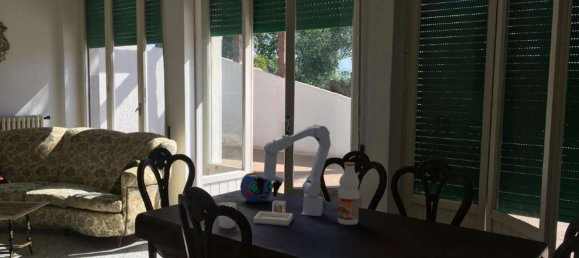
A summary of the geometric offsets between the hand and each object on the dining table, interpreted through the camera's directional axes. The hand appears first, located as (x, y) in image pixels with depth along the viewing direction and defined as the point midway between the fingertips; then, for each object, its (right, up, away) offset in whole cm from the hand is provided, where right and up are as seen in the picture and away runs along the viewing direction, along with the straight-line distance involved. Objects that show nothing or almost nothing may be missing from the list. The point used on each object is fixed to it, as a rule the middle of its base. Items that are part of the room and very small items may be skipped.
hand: (268, 195), depth 223 cm
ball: (+5, -8, +5) cm, 11 cm away
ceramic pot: (-8, -8, +29) cm, 32 cm away
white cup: (-17, -12, -17) cm, 27 cm away
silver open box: (+5, -10, +5) cm, 12 cm away
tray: (+3, -11, -7) cm, 13 cm away
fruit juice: (+38, -12, -7) cm, 40 cm away
